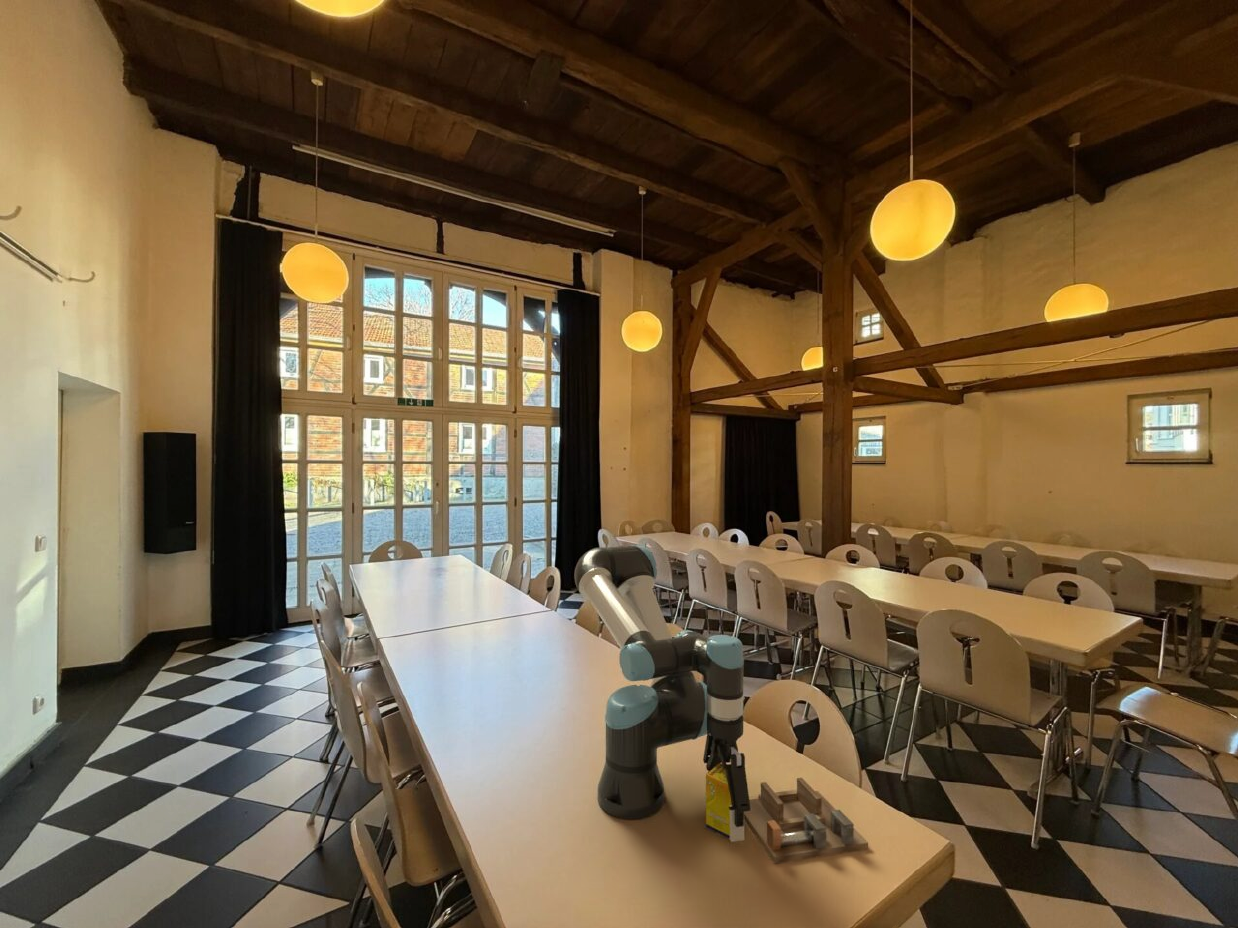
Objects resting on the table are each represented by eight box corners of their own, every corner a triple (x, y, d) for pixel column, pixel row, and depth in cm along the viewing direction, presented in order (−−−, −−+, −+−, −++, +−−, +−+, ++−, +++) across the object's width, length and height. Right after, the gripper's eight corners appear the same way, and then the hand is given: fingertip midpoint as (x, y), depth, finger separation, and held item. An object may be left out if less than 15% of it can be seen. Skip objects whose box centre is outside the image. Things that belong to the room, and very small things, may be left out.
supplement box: (718, 813, 111) (718, 761, 111) (744, 825, 107) (744, 772, 107) (704, 827, 106) (705, 773, 107) (731, 840, 102) (731, 785, 103)
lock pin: (773, 850, 98) (773, 829, 98) (766, 841, 100) (766, 821, 100) (827, 842, 100) (827, 821, 100) (820, 833, 102) (820, 813, 103)
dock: (774, 863, 96) (774, 832, 97) (735, 806, 113) (736, 780, 113) (868, 848, 100) (868, 819, 101) (817, 795, 117) (817, 770, 117)
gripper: (768, 739, 97) (769, 858, 96) (719, 689, 120) (719, 784, 119) (731, 743, 95) (731, 864, 94) (688, 691, 118) (688, 788, 117)
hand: (724, 820), depth 107 cm, fingers open, 11 cm apart
